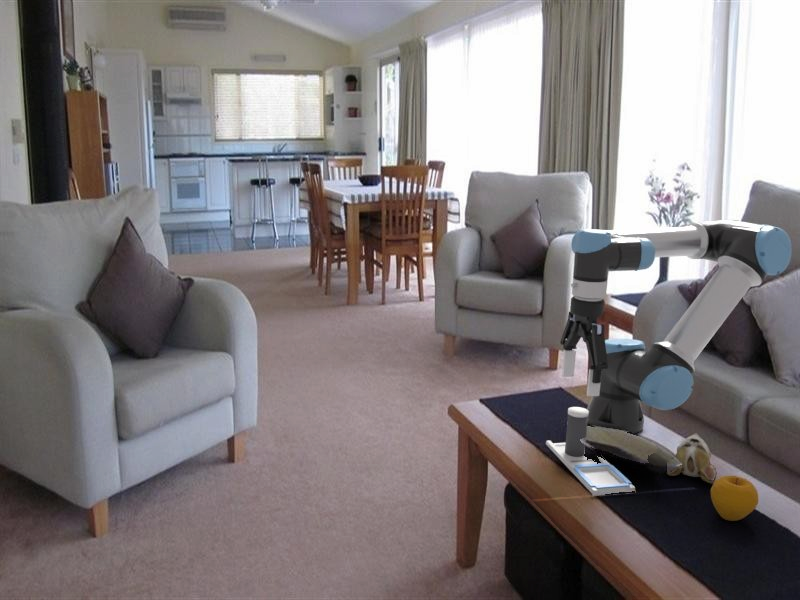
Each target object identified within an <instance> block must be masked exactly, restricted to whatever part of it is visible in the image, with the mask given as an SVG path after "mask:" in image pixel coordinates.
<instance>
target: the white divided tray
mask: <svg viewBox="0 0 800 600" xmlns="http://www.w3.org/2000/svg"><path fill="white" fill-rule="evenodd" d="M565 444H566V442H554V443H553V442H552V440H546V441H545V445H546V447H548V448H549V449H550V451H551V452H552V453H553V454H554V455H555V456H556V457H557V458H558V460H560V461H561V462H562V463H563V464H564V466H566V468H567V469H568V470H569V471H570V472H571V473H572V474H573V475H574V476H575V477H576V478H577V480H579V482H580V483H581V484H582V485H583V486H584V487H585V488H586V489H587V490H588V491H589V492H590V493H591V494H590V496H591V497H597V496H606V495H605V494H611V493H619V492H632V491H635V492H636V487H635V485H633V484H632V482H631V481H630V480H629V478H628V477H626V476H625V475H624V474H623V473H622V472H621V471H620V470H618V468H616V467H615V465H613V464H611V463H610V462H608V461H607V460H606V459H605V458H604V457H603V458H604V459H605V460H604V459H603V458H601V457H598V456H597V457H598V459H599V461H600V462H601V463H598V464H597V462H594V461H595V460H594V461H593V460H592V459H588V460H587V457H585V456H581V457H573V456H569V455H567V454H566V453H565Z"/></svg>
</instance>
